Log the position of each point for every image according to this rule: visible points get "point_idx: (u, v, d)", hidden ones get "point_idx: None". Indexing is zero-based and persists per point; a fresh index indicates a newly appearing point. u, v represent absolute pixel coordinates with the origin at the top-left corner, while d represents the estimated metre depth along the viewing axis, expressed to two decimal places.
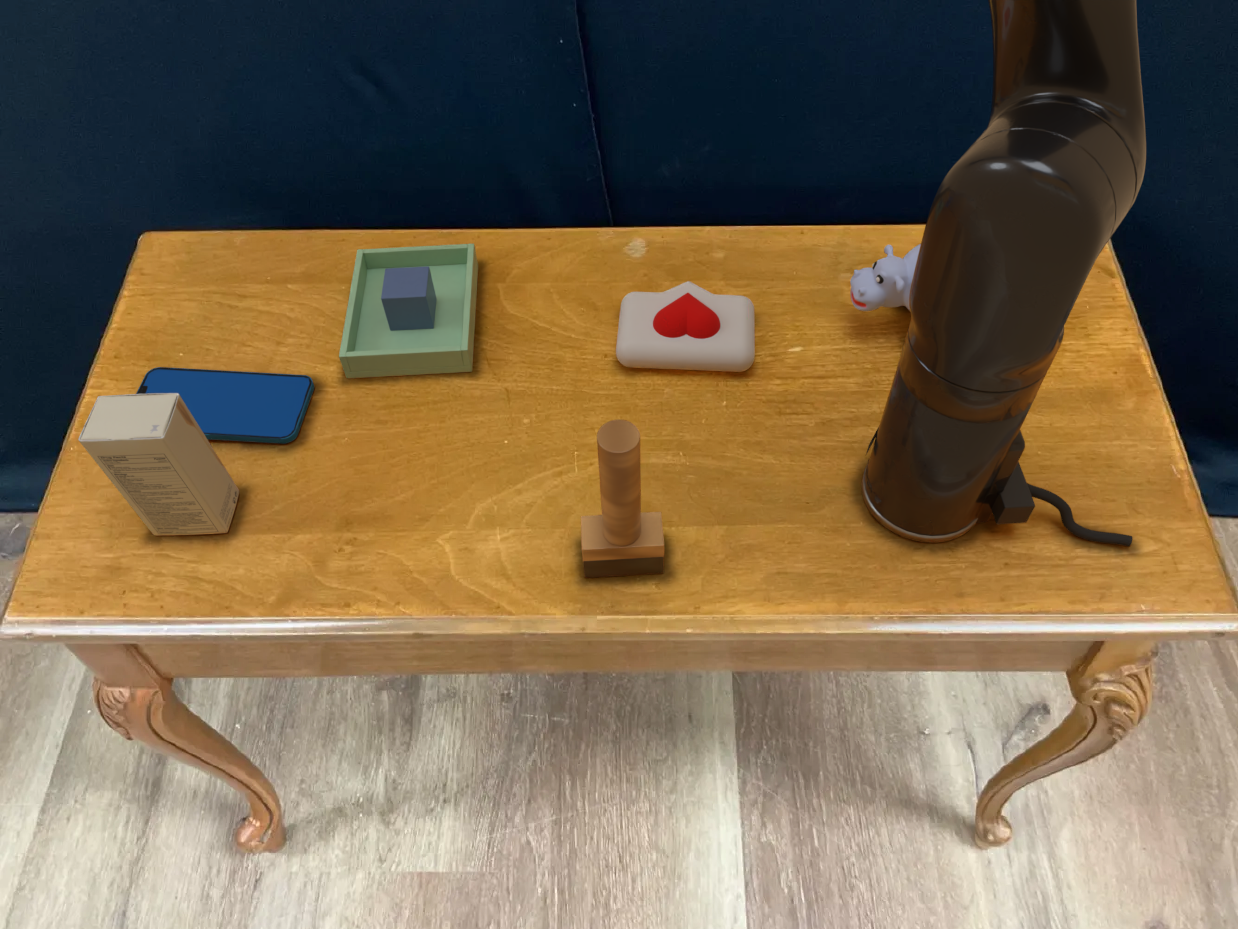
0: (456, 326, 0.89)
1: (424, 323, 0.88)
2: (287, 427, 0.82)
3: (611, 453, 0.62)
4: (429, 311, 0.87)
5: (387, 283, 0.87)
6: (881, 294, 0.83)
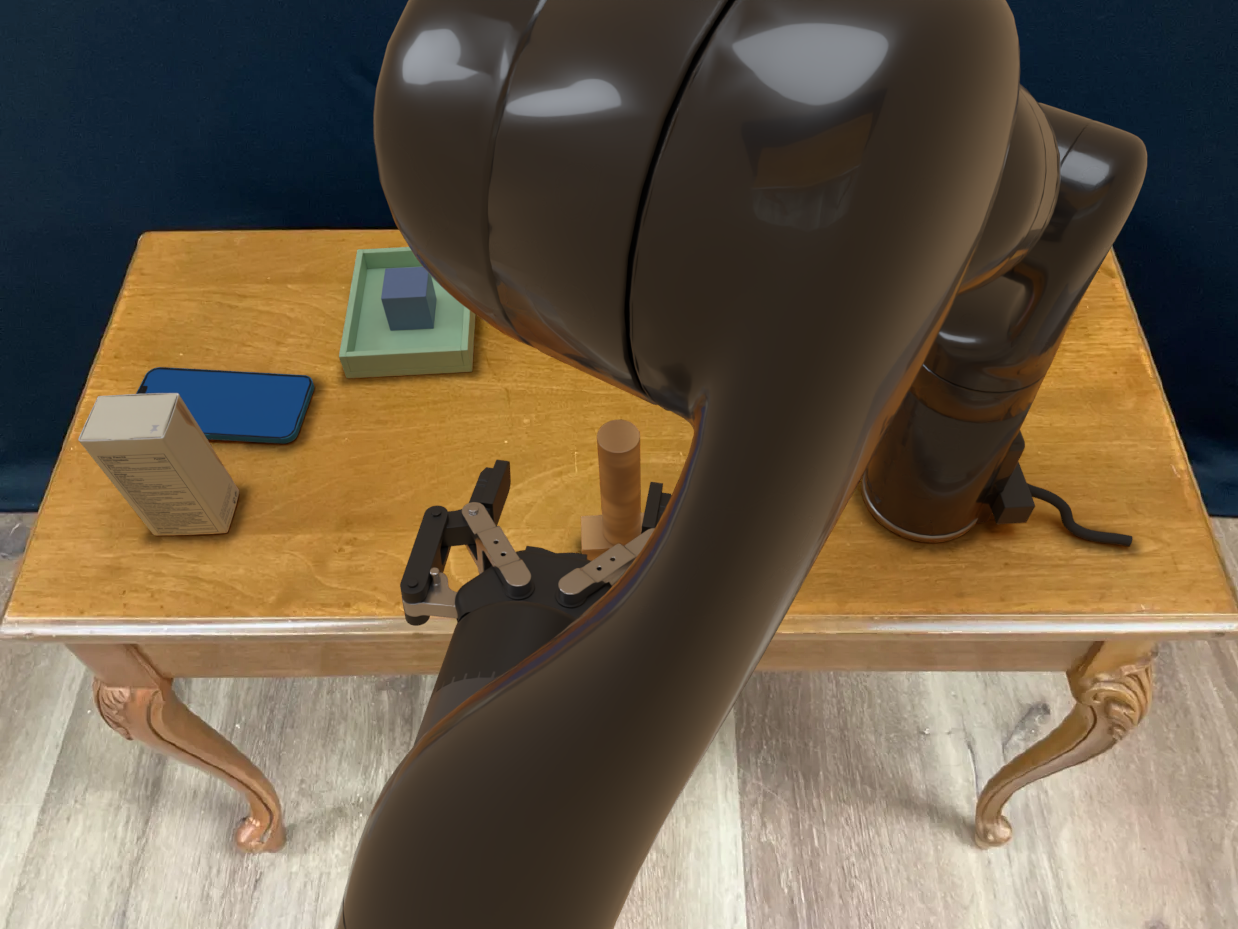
0: (456, 326, 0.89)
1: (424, 323, 0.88)
2: (287, 427, 0.82)
3: (611, 453, 0.62)
4: (429, 311, 0.87)
5: (387, 283, 0.87)
6: None
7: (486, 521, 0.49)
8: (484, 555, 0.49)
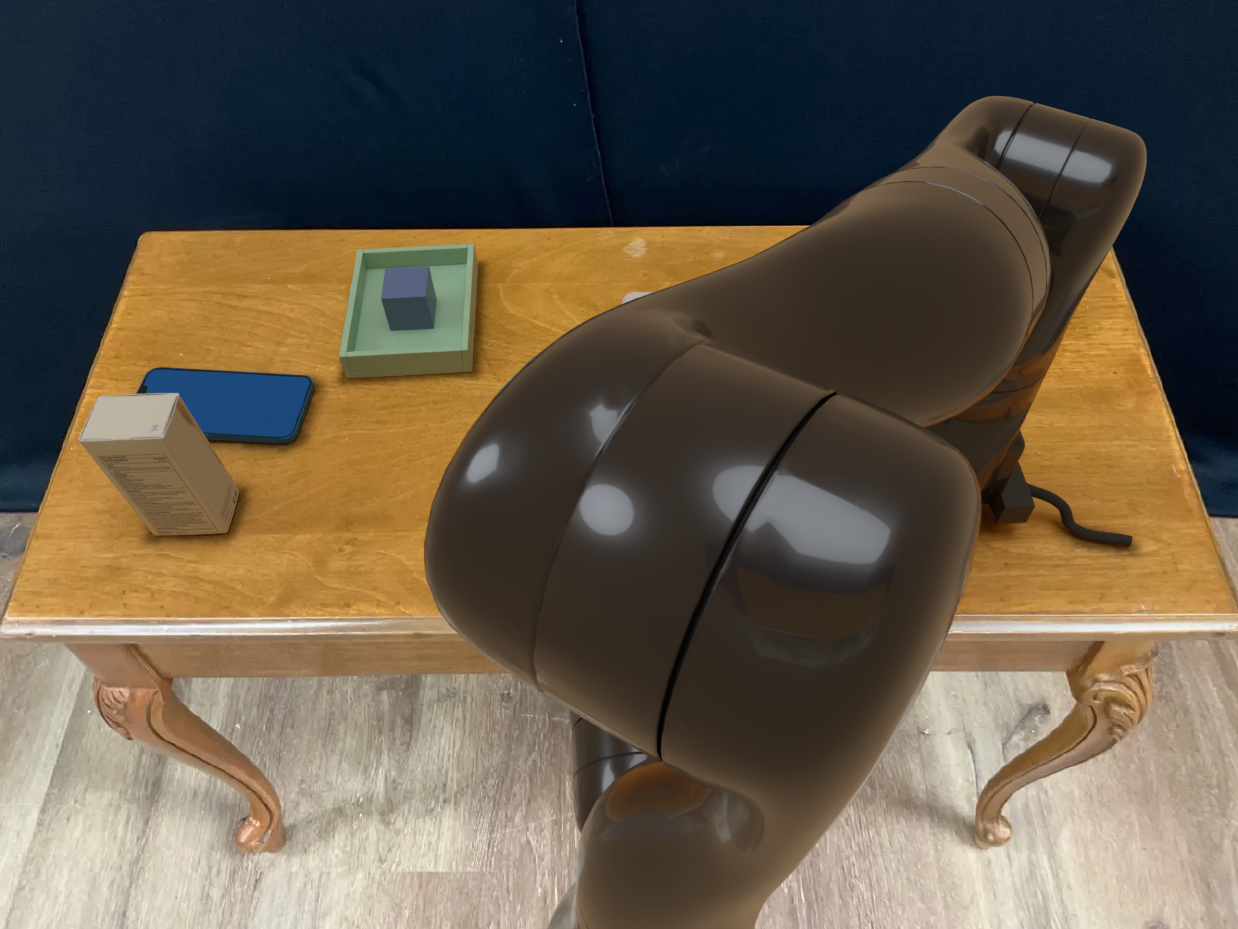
0: (456, 326, 0.89)
1: (424, 323, 0.88)
2: (287, 427, 0.82)
3: None
4: (429, 311, 0.87)
5: (387, 283, 0.87)
6: None
7: None
8: None
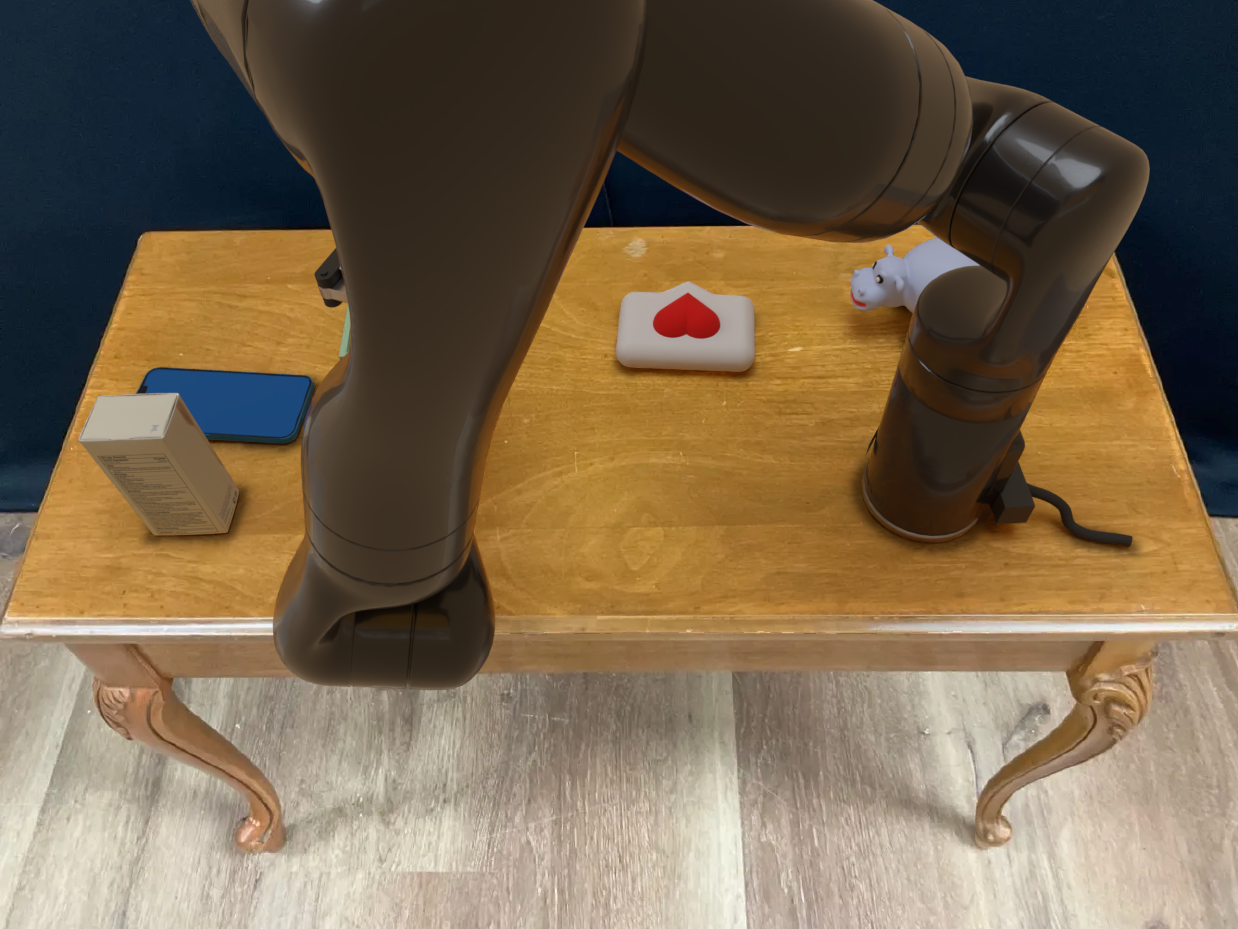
0: None
1: None
2: (287, 427, 0.82)
3: None
4: None
5: None
6: (881, 294, 0.83)
7: None
8: None
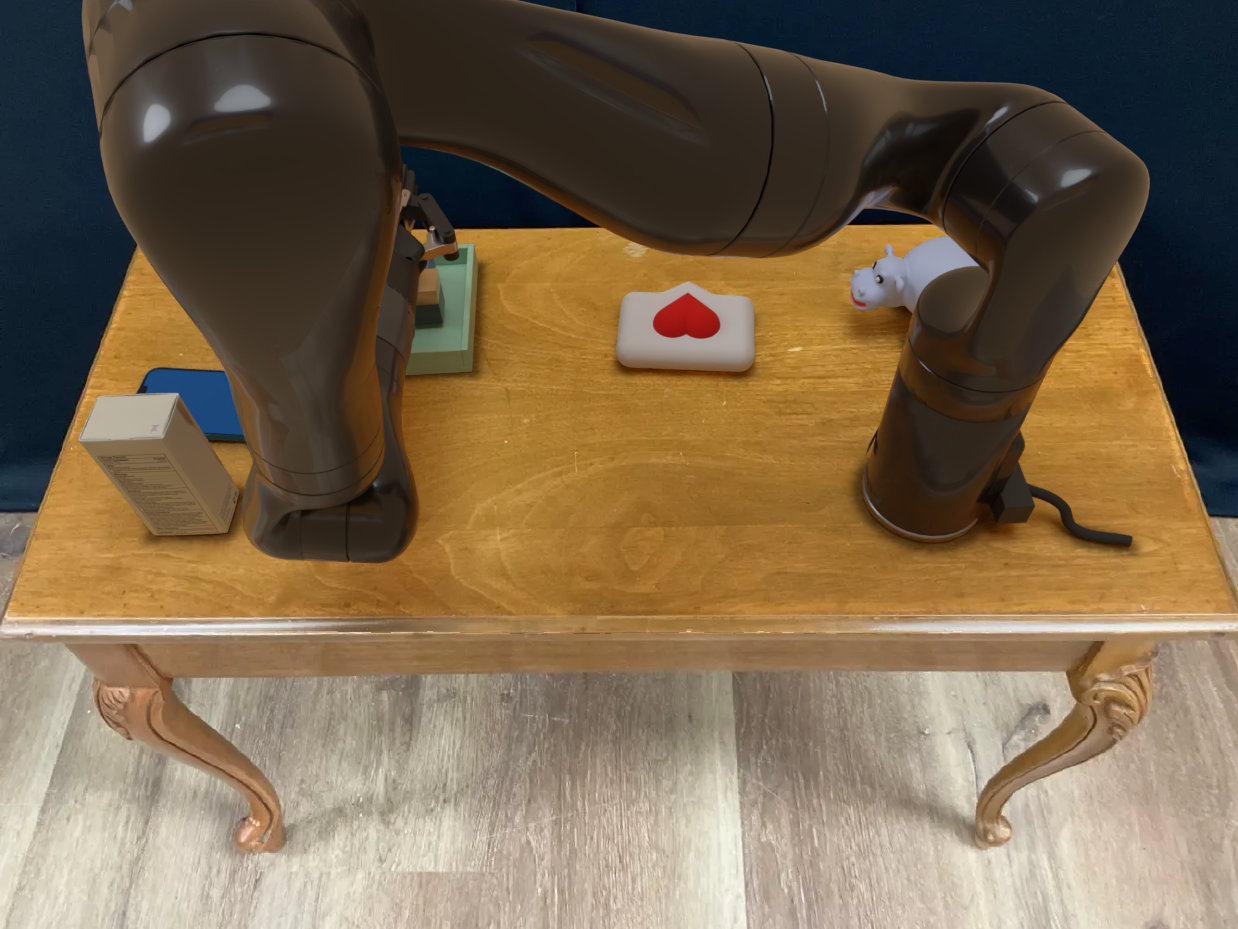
0: (456, 326, 0.89)
1: None
2: None
3: None
4: None
5: None
6: (881, 294, 0.83)
7: None
8: None
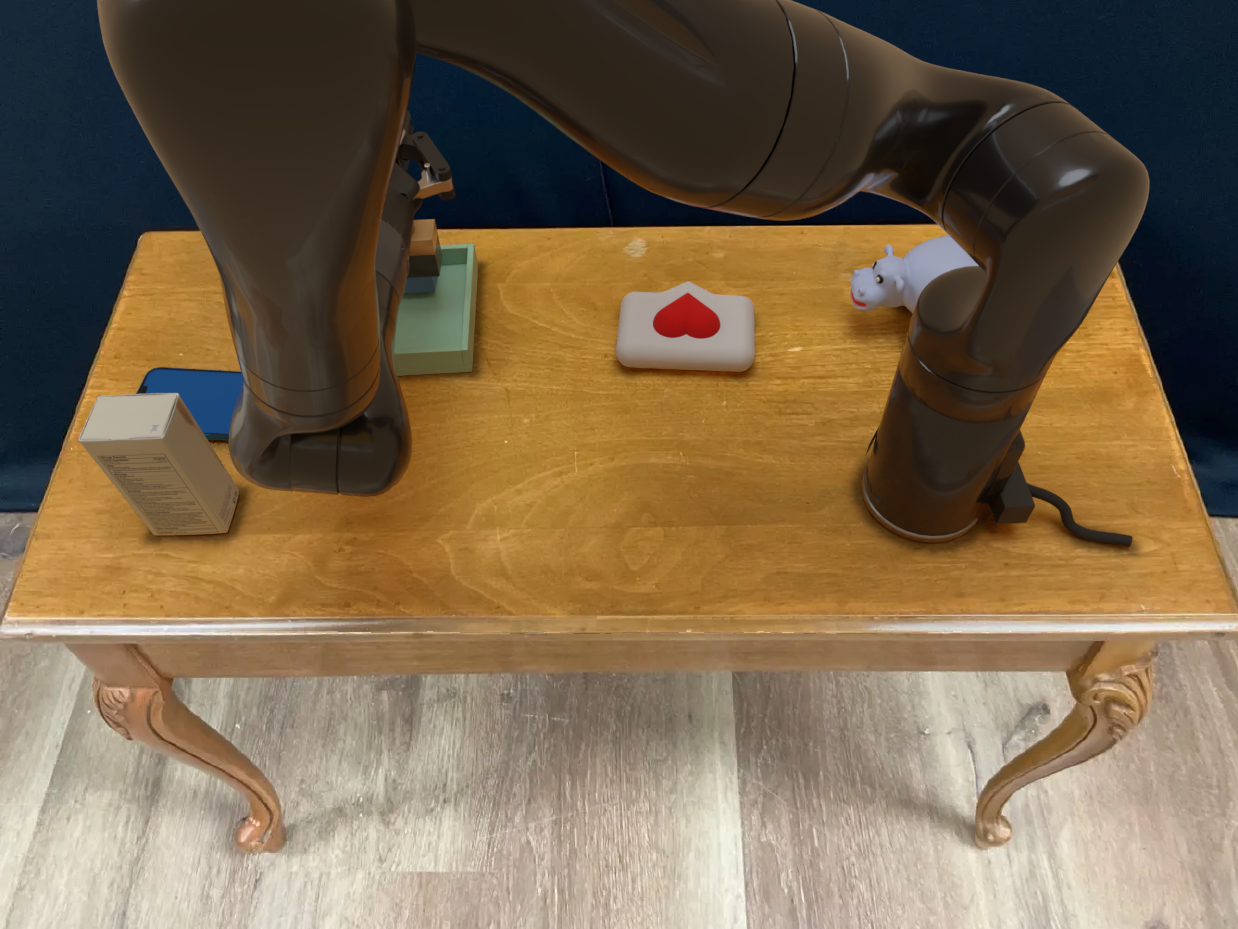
0: (456, 326, 0.89)
1: (425, 285, 0.90)
2: None
3: None
4: None
5: None
6: (881, 294, 0.83)
7: None
8: None
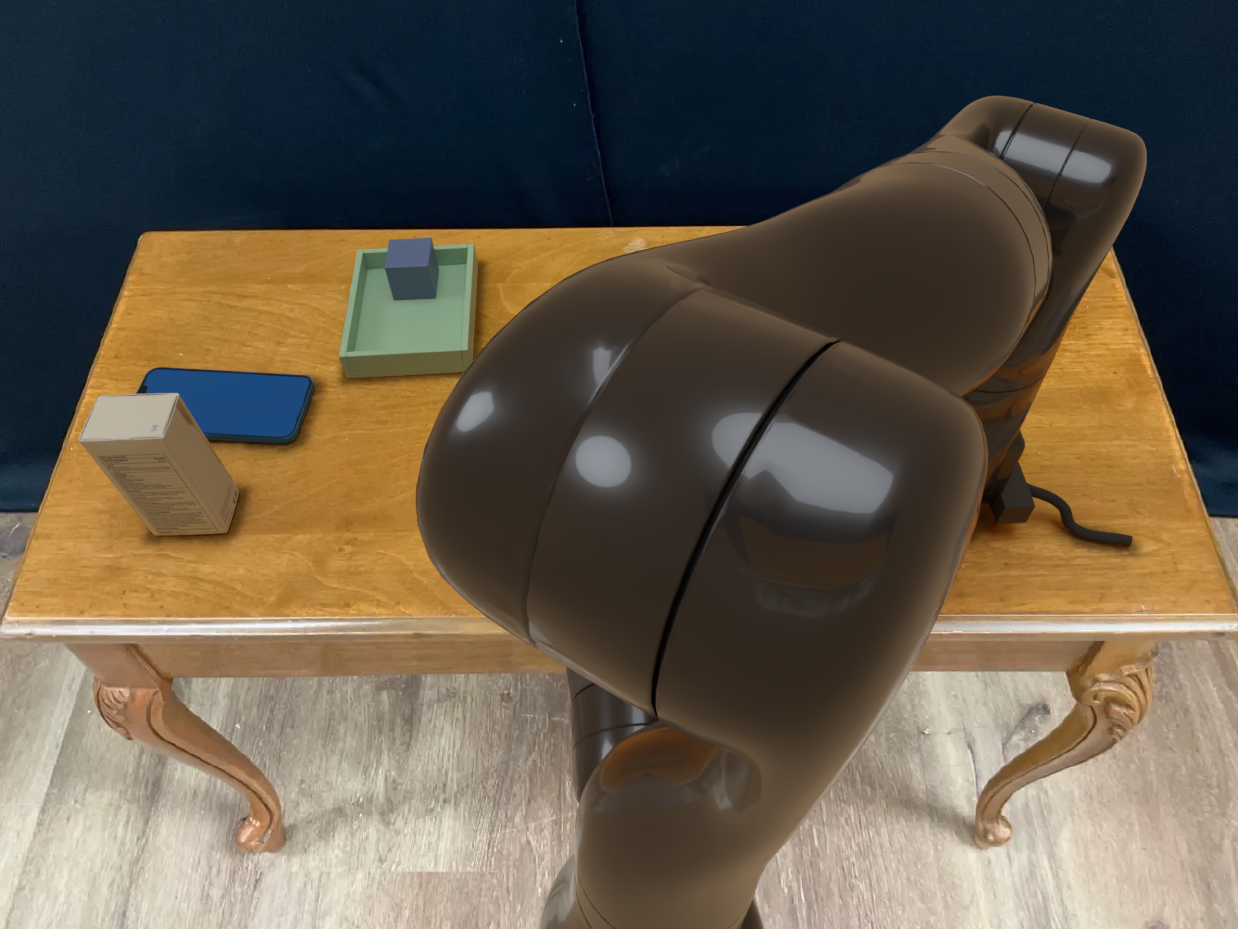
0: (456, 326, 0.89)
1: (426, 292, 0.90)
2: (287, 427, 0.82)
3: None
4: (431, 281, 0.89)
5: (391, 253, 0.89)
6: None
7: None
8: None
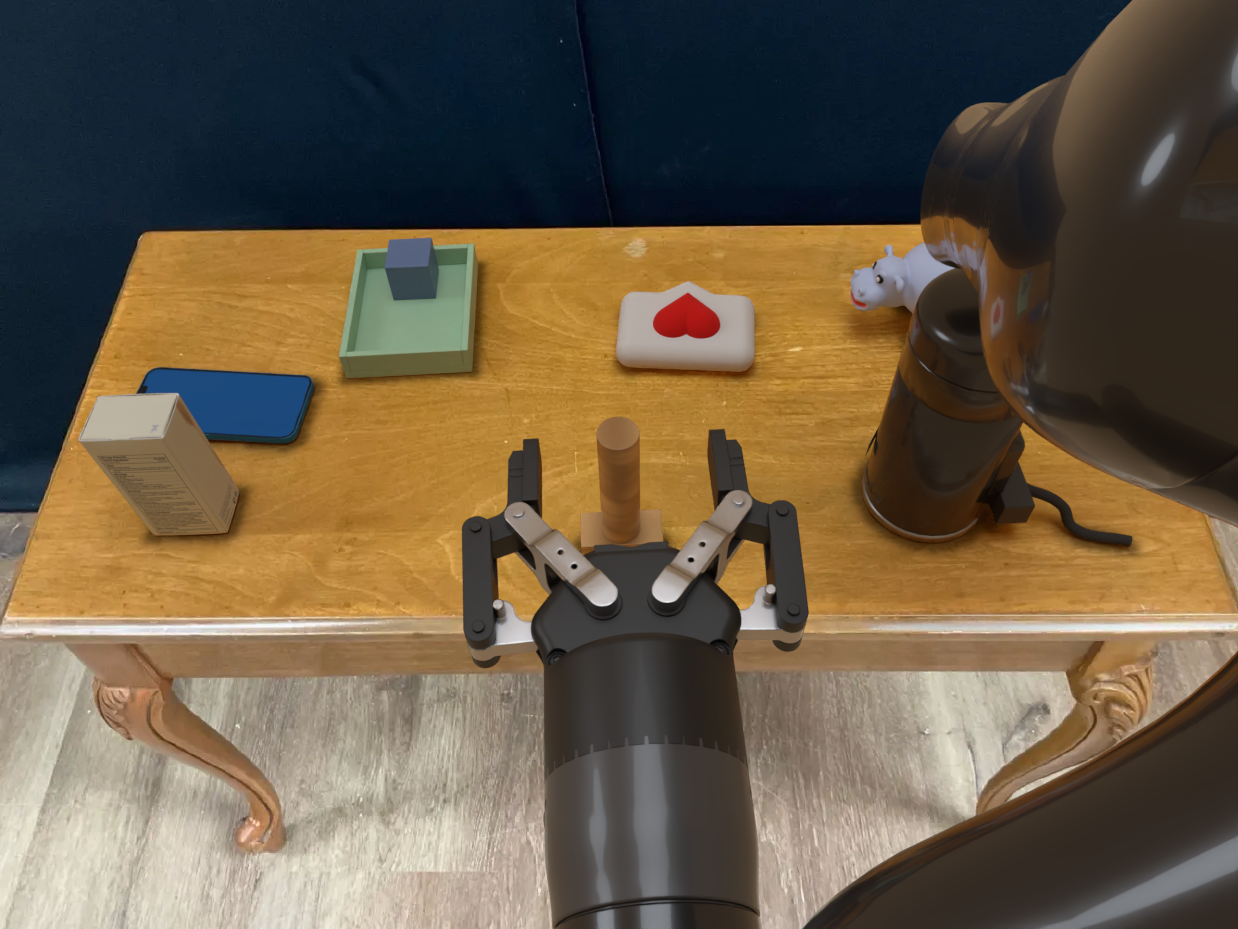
0: (456, 326, 0.89)
1: (426, 292, 0.90)
2: (287, 427, 0.82)
3: (610, 451, 0.62)
4: (431, 281, 0.89)
5: (391, 253, 0.89)
6: (881, 294, 0.83)
7: (538, 524, 0.41)
8: (547, 566, 0.41)
